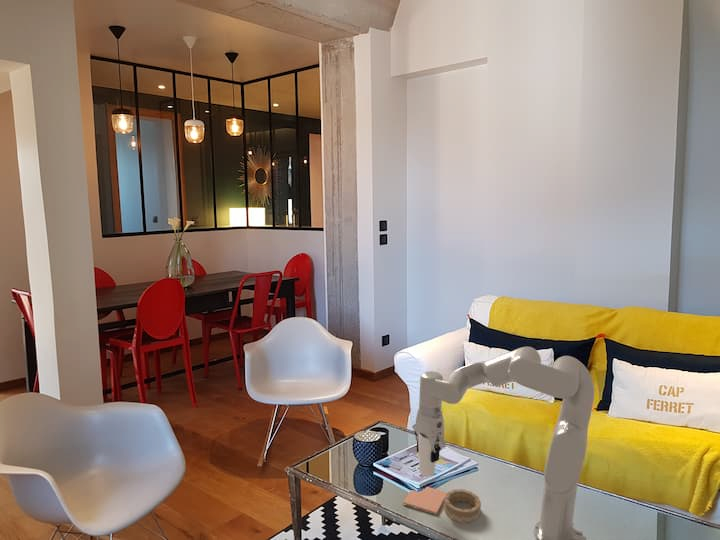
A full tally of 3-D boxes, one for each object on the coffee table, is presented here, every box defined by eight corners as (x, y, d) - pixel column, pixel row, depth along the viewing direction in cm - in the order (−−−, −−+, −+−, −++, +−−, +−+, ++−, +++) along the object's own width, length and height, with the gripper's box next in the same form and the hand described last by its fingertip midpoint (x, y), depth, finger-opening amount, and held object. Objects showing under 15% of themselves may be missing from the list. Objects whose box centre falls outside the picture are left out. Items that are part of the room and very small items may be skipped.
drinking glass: (440, 472, 193) (442, 433, 189) (429, 481, 188) (431, 441, 185) (424, 464, 197) (426, 426, 194) (413, 473, 192) (414, 433, 189)
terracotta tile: (446, 494, 198) (447, 492, 198) (436, 514, 188) (436, 512, 187) (415, 485, 203) (415, 483, 203) (403, 504, 193) (403, 502, 192)
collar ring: (483, 505, 193) (483, 495, 192) (474, 526, 182) (475, 515, 181) (449, 495, 198) (450, 485, 197) (439, 515, 187) (440, 505, 186)
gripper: (456, 416, 182) (453, 464, 186) (421, 395, 196) (419, 441, 200) (439, 422, 178) (436, 472, 182) (405, 401, 192) (403, 447, 196)
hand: (427, 455), depth 191 cm, fingers closed on drinking glass, 6 cm apart
